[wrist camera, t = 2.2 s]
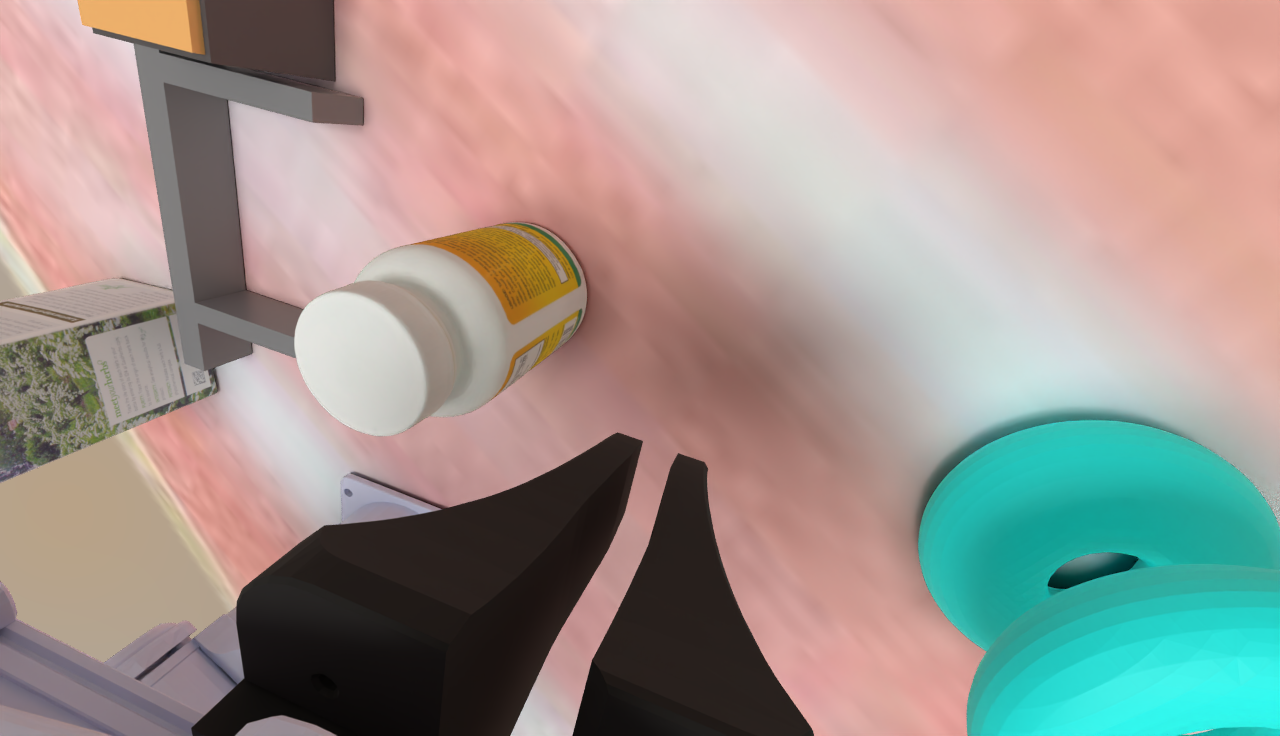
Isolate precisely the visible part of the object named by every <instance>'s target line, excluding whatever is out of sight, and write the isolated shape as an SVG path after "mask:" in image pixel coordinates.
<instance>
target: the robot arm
mask: <svg viewBox="0 0 1280 736" xmlns="http://www.w3.org/2000/svg"><path fill="white" fill-rule="evenodd" d="M642 443H643V441H641V440H638V439H635V438H632V437H629V436H626V435H624V434H621V433H616V434H613V435H611V436H610V437H608V438H607V439H605V440H603V441H602V442H600V443H599V444H597V445H595V446H594V447H592V448H591V449H589V450H587V451H586V452H584V453H582V454H581V455H579V456H577V457H575V458H573V459H572V460H570V461H568V462H566V463H564V464H563V465H561V466H559V467H557V468H555V469H553V470H551V471H549V472H547V473H545V474H543V475H541V476H539V477H537V478H534V479H532V480H530V481H528V482H526V483H524V484H521V485H519V486H516V487H514V488H512V489H509V490H506V491H503V492H501V493H498V494H495V495H492V496H489V497H486V498H483V499H479V500H475V501H472V502H468V503H464V504H461V505H457V506H453V507H450V508H446V509H440V508H437V507H435V506H432V505H430V504H427V503H425V502H422V501H420V500H417V499H414V498H412V497H409V496H407V495H404V494H402V493H399V492H397V491H394V490H392V489H389V488H386V487H384V486H381V485H379V484H376V483H374V482H371V481H369V480H366V479H364V478H361V477H359V476H356V475H353V474H347V475H346V476H344V477H343V478H342V479H341V503H342V523H340V524H339V525H326V526H323V527H322V528H320V529H319V530H317V531H316V532H315V533H313V534H312V535H310V536H309V537H307V538H306V539H305V540H303V541H302V542H300V543H299V544H298V545H297V546H295V547H294V548H293V549H292V550H290V551H289V552H288V553H287V554H285V555H284V556H283V557H281V558H280V559H279V560H278V561H276V562H275V563H274V564H273V565H271V566H270V567H269V568H268V569H266V570H265V571H264V572H263V573H261V574H260V575H259V576H257V577H256V578H255V579H254V580H252V581H251V582H250V583H249V584H248V585H246V586H245V587H244V588H243V589H242V591H241V593H240V596H239V598H238V600H237V606H236V607H235V608H234V609H233V610H231V611H230V612H229V613H228V614H223V615H222V616H221V617H219V618H218V619H217V620H216V621H214V622H213V623H212V624H211V625H209V626H208V627H207V628H205V629H204V630H203V631H202V632H201V633H199V634H198V635H197V636H196V637H194V638H193V639H191V638H190V637H189V636H190V635H191V634H192V633H193V632H195V631H196V630H197V629H196V628H195V627H194V626H193V625H192V624H191V623H190V622H189V621H182V622H180V623H178V624H176V623H164V624H159V625H158V626H156V627H154V628H153V629H151V630H149V631H148V632H146V633H145V634H143V635H142V636H140V637H139V638H137V639H136V640H135V641H133V642H132V643H130V644H129V645H128V646H126V647H125V648H123V649H122V650H121V651H119V652H118V653H116V654H115V655H113V656H112V657H111V658H110V659H108V660H107V661H105V662H104V663H103V662H101V661H98V660H97V659H95V658H93V657H91V656H89V655H87V654H85V653H83V652H81V651H79V650H77V649H75V648H73V647H71V646H69V645H67V644H65V643H63V642H61V641H59V640H57V639H55V638H53V637H51V636H50V635H48V634H46V633H44V632H41V631H40V630H38V629H36V628H34V627H32V626H30V625H28V624H25V623H24V622H22V621H20V620H18V619H16V616H17V610H16V607H15V603H14V600H13V598H12V596H11V594H10V592H9V591H8V589H7V588H6V586H4V584H2V582H1V581H0V736H510V735H511V733H512V731H513V728H514V726H515V724H516V722H517V720H518V717H519V715H520V713H521V711H522V709H523V707H524V704H525V702H526V700H527V698H528V696H529V694H530V691H531V689H532V687H533V685H534V683H535V681H536V679H537V676H538V674H539V672H540V670H541V668H542V666H543V664H544V662H545V659H546V657H547V655H548V653H549V651H550V649H551V647H552V645H553V643H554V641H555V639H556V638H557V636H558V634H559V632H560V630H561V628H562V627H563V625H564V623H565V622H566V620H567V618H568V617H569V615H570V613H571V612H572V610H573V608H574V607H575V605H576V603H577V602H578V600H579V598H580V597H581V595H582V593H583V592H584V590H585V588H586V587H587V585H588V583H589V582H590V580H591V578H592V576H593V575H594V573H595V571H596V570H597V568H598V566H599V565H600V563H601V561H602V560H603V558H604V556H605V554H606V553H607V551H608V549H609V547H610V545H611V543H612V540H613V538H614V536H615V534H616V531H617V529H618V527H619V525H620V522H621V520H622V518H623V515H624V513H625V510H626V506H627V502H628V498H629V494H630V490H631V486H632V482H633V478H634V474H635V470H636V466H637V462H638V459H639V455H640V451H641V447H642ZM707 471H708V468H707V466H706V464H705V462H702V461H699V460H696V459H693V458H690V457H687V456H684V455H682V454H679V453H678V455H677V456H676V458H675V460H674V462H673V464H672V466H671V468H670V472H669V475H668V479H667V482H666V486H665V489H664V493H663V496H662V499H661V503H660V506H659V510H658V513H657V517H656V520H655V524H654V527H653V531H652V534H651V538H650V541H649V545H648V547H647V549H646V552H645V554H644V556H643V558H642V561H641V563H640V565H639V567H638V569H637V571H636V574H635V576H634V578H633V580H632V582H631V584H630V587H629V589H628V591H627V593H626V595H625V597H624V599H623V601H622V603H621V605H620V607H619V609H618V611H617V613H616V616H615V618H614V619H613V621H612V623H611V625H610V627H609V629H608V631H607V633H606V635H605V637H604V639H603V641H602V643H601V645H600V647H599V648H598V650H597V652H596V654H595V656H594V658H593V659H592V663H591V667H590V671H589V674H588V678H587V682H586V686H585V690H584V694H583V697H582V701H581V705H580V709H579V713H578V717H577V720H576V724H575V728H574V732H573V736H814V733H813V730H812V728H811V727H810V725H809V724H808V722H807V721H806V720H805V718H804V717H803V715H802V714H801V713H800V711H799V710H798V708H797V707H796V705H795V704H794V703H793V701H792V700H791V698H790V697H789V695H788V694H787V693H786V691H785V690H784V688H783V687H782V686H781V684H780V683H779V681H778V680H777V678H776V677H775V675H774V673H773V672H772V670H771V668H770V667H769V665H768V663H767V662H766V660H765V658H764V657H763V655H762V653H761V651H760V649H759V647H758V645H757V643H756V641H755V639H754V637H753V635H752V633H751V631H750V629H749V627H748V625H747V623H746V621H745V620H744V618H743V615H742V613H741V611H740V609H739V606H738V604H737V601H736V599H735V597H734V594H733V592H732V589H731V587H730V584H729V581H728V579H727V576H726V573H725V570H724V567H723V564H722V560H721V557H720V554H719V550H718V546H717V543H716V539H715V534H714V530H713V525H712V520H711V514H710V509H709V502H708V492H707Z"/></svg>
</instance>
